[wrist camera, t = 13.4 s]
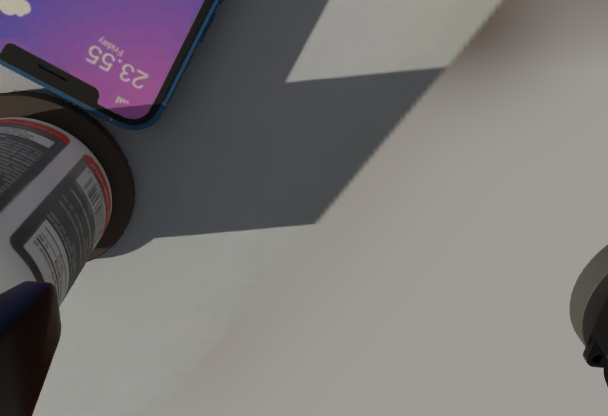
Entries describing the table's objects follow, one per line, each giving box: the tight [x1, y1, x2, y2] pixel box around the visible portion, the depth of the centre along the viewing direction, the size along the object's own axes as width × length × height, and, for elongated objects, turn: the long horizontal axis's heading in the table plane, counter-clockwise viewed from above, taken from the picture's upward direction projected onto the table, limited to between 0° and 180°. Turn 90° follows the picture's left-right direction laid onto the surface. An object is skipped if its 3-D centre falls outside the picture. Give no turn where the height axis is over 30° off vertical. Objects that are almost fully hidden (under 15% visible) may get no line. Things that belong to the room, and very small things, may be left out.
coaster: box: [0, 92, 135, 262], centre depth 20 cm, size 7×7×1 cm
